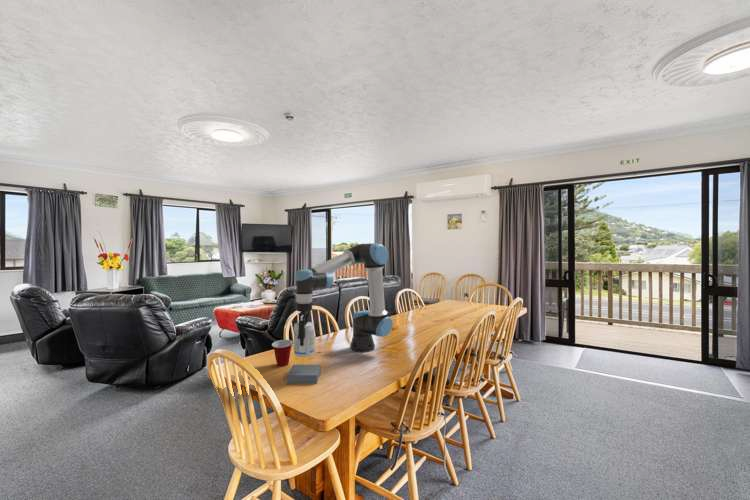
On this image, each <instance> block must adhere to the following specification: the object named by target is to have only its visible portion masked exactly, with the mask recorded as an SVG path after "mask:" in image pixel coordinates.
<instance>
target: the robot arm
mask: <svg viewBox="0 0 750 500" xmlns="http://www.w3.org/2000/svg"><path fill="white" fill-rule="evenodd" d="M388 258H389V253H388V250H387V248H386V246H384V245H383V244H382V243H377V242H376V243H359V244H356V245H354V246H352V247H349V248H346V249H345V250H344V251H343V253H340V254H339V255H336V256H335V257H333V258H330V259H329V260H326V261H324V262H323V263H320V264H318V265H316V266H314V267H312V268H310V269H299V270H297V271H296V275H295V282H296V284H295V291H296V292H295V293H296V295H295V296H294V298H295V299H296V301H295V302H296V303H295V305H296V307H295V310H296V311H297V312H299V313H300V314H299V316H298V323H299V332H298V337H297V339H299V352H305V328H304V327H305V326H306V324H307V322H310V312H311V311H312V310H313V290H316V289H317V290H318V289H326V288H330V287H332V286H333V284H334V277H333V275H332V274H334V273H337V272H338V271H340V270H342V269H344V268H346V267H348V266H353V265H357V264H363V267H364V269H365V270H366V271H367V272H366V273H367V282H368V295H369V296H368V297H369V307H370V308H369V310H366V309H365V310H358V311H355V312H353V313H352V339H351V342H350V343H349V344H350V345H349V347H350V348H349V349H350V351H353V352H356V353H368V352H372V351H374V350H375V349H376V345H375V342H374V339H373V338H374V337H373V336H377V337H381V338H385V337H387V336H388V335H389V334H390V333H391V332H392V329H393V325H394V322H393V319H392V318H391V317H389V311H388V310H386V304H385V292H384V278H383V277H384V276H383V269H384V268H385V264H386V263H387V262H388ZM301 335H302V336H301Z"/></svg>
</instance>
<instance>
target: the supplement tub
mask: <svg viewBox="0 0 750 500" xmlns="http://www.w3.org/2000/svg"><path fill="white" fill-rule="evenodd" d="M304 328H305V352H299V339H297V337H298V332H299V322H296V323H294V324H293V351H294V352H293V354H294V356H296V357H299V358H300V357H301V358H306V357H311V356H313V355H314V354H315V325H314V322H311V321H309V322H307V324H306V326H305V327H304ZM301 336H302V335H301Z"/></svg>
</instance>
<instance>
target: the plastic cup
mask: <svg viewBox="0 0 750 500" xmlns="http://www.w3.org/2000/svg"><path fill="white" fill-rule="evenodd" d="M293 345H294V340H291V339H280V340H275V341H274V342H272V343H271V347H272V348H273V352H274V357H275V361H276V366H277V367H287V366H288V365H289V363H290V357H291V351H292V347H293Z"/></svg>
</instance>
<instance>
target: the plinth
mask: <svg viewBox="0 0 750 500" xmlns="http://www.w3.org/2000/svg"><path fill="white" fill-rule="evenodd" d="M321 374H322V364H292V365H291V367H290V369H289V370H288V372H287V374H286V376H285V377H286V378H285V379H286V380H285V381H286V385H305V384H306V385H316V384H317V385H318V382H319V380H320V376H321Z"/></svg>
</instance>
